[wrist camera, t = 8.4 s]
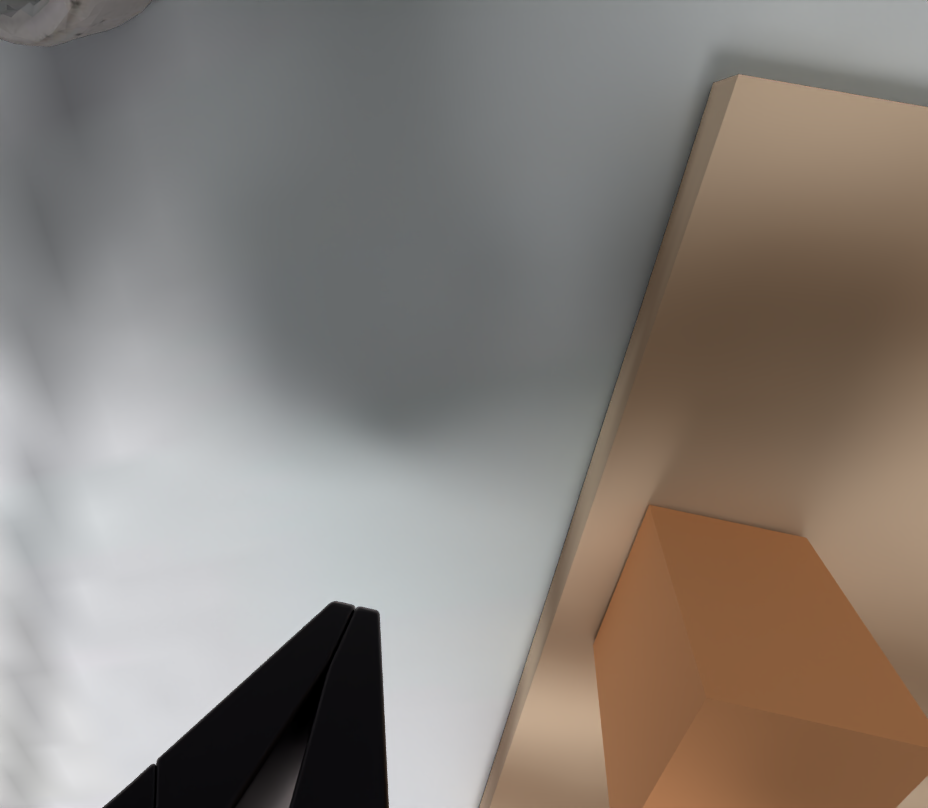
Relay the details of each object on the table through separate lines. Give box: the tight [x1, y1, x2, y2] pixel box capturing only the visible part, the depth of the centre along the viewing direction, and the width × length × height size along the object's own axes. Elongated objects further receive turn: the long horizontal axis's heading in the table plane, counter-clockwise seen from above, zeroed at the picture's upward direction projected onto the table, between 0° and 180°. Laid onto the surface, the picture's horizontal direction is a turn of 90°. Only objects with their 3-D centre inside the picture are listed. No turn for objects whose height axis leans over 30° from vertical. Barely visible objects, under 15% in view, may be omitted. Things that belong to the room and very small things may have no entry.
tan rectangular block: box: [593, 505, 928, 808], centre depth 9 cm, size 4×3×4 cm
